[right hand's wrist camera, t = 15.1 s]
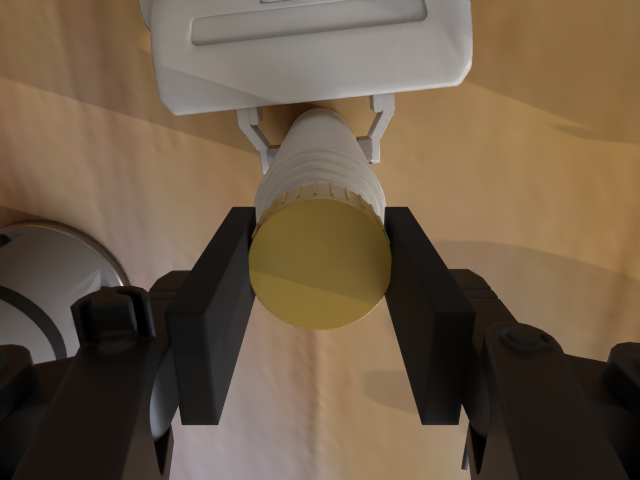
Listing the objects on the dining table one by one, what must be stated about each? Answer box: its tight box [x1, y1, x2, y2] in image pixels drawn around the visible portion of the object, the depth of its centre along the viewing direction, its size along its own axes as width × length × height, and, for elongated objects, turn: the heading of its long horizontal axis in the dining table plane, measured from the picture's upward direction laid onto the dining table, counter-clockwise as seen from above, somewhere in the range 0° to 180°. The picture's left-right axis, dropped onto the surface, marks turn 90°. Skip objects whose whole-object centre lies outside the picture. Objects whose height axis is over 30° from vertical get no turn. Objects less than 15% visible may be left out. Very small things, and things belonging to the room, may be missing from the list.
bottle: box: [254, 108, 386, 225], centre depth 24 cm, size 6×6×25 cm
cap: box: [248, 182, 392, 330], centre depth 13 cm, size 4×4×2 cm
